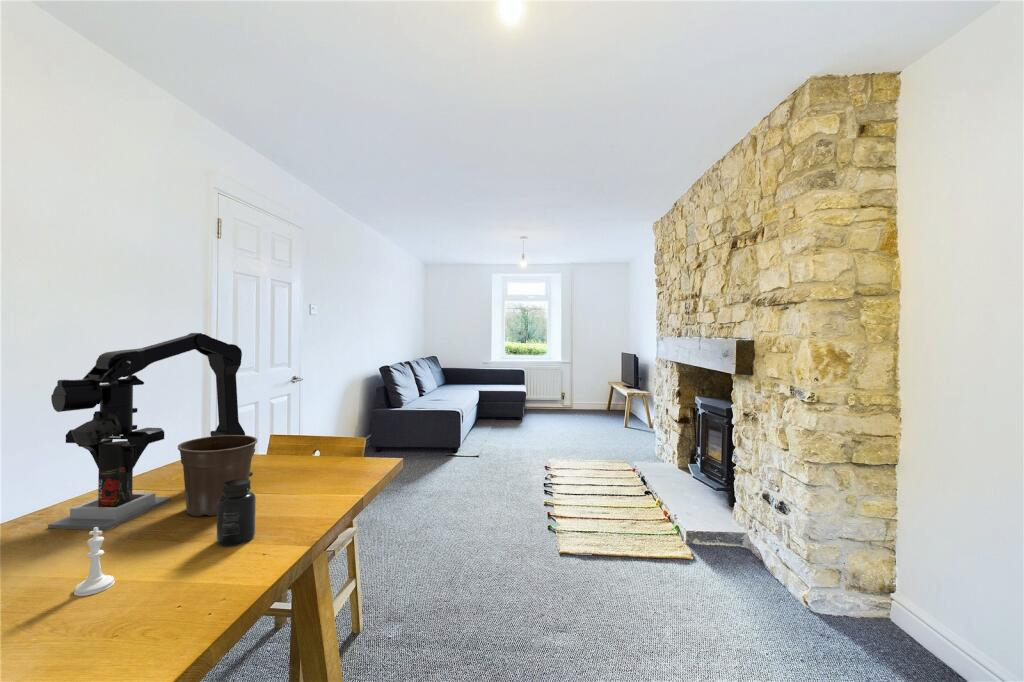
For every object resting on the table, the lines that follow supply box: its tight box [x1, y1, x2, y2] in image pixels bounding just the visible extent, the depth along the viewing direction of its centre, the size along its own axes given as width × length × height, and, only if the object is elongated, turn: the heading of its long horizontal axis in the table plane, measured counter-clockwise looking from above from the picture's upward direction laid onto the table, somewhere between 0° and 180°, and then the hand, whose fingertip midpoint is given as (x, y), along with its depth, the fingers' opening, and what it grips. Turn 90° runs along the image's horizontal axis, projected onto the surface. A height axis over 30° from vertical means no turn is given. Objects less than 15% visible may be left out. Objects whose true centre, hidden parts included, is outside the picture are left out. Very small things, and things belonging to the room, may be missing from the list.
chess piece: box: [73, 527, 115, 597], centre depth 72 cm, size 5×5×10 cm
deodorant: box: [97, 440, 134, 507], centre depth 102 cm, size 6×6×15 cm
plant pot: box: [177, 434, 258, 517], centre depth 106 cm, size 16×16×16 cm
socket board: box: [47, 491, 172, 531], centre depth 101 cm, size 13×17×3 cm
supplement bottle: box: [216, 478, 257, 547], centre depth 90 cm, size 7×7×12 cm
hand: (115, 471), depth 101 cm, fingers closed on deodorant, 6 cm apart
